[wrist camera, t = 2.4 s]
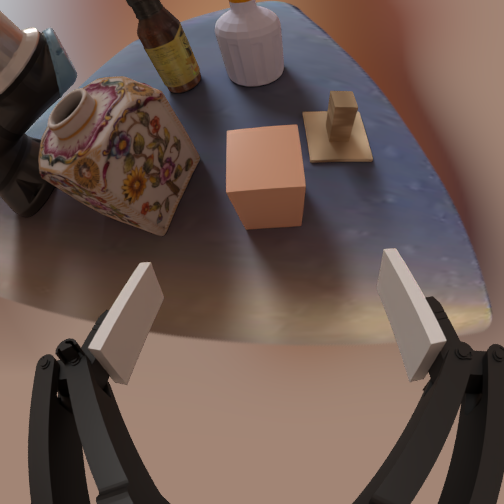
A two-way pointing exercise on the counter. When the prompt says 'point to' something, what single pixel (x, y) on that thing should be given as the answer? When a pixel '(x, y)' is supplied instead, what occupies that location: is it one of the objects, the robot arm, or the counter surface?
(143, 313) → the robot arm
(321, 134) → the post
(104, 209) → the decorative jar
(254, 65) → the soap bottle
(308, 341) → the counter surface
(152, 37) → the sauce bottle
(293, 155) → the peach block
